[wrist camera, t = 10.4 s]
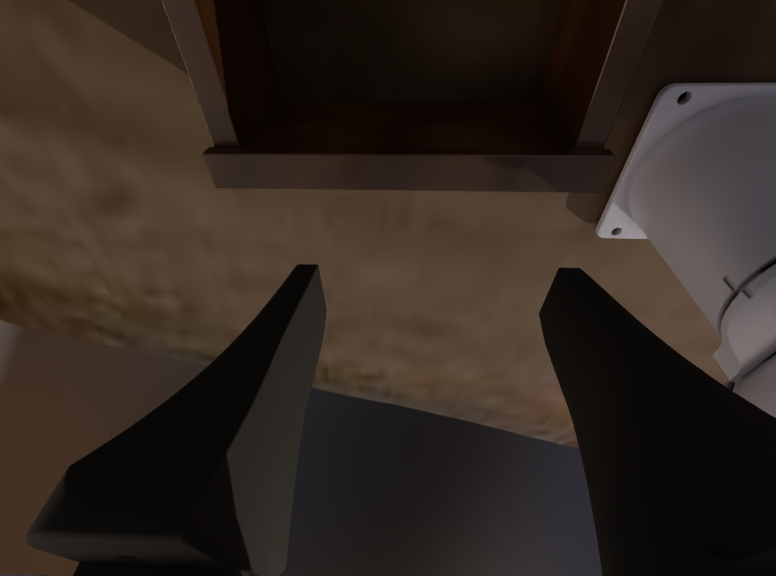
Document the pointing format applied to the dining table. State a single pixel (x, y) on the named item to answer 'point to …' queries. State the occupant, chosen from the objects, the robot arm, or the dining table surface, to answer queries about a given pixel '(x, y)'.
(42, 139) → the dining table surface
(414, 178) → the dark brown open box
